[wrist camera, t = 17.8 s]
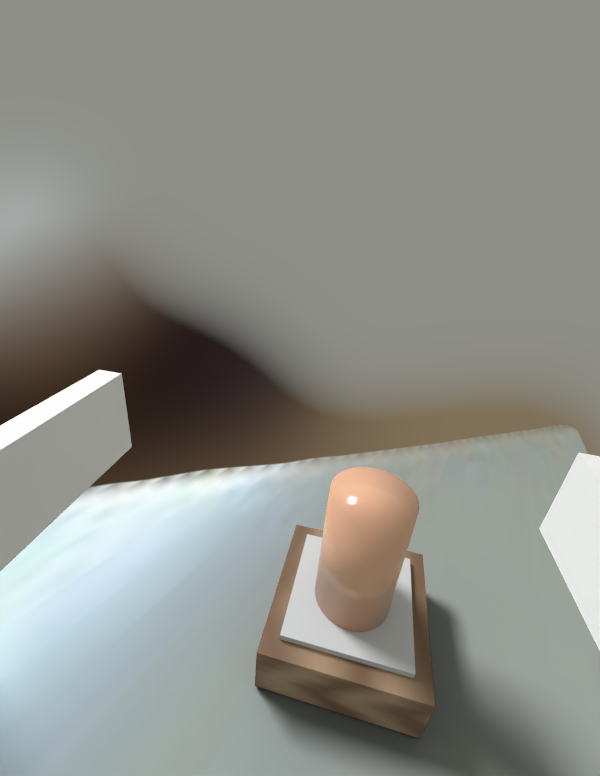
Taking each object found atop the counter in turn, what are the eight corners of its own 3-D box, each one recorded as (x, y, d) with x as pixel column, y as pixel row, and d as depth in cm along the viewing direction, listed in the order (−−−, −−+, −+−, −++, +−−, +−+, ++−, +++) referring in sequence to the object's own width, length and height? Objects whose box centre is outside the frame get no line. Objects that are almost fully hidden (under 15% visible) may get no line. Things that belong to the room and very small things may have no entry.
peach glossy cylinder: (307, 619, 32) (323, 517, 27) (321, 553, 38) (336, 460, 33) (389, 642, 31) (422, 540, 26) (390, 571, 37) (416, 476, 32)
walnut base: (254, 686, 32) (256, 648, 30) (293, 555, 45) (297, 520, 42) (420, 738, 30) (437, 702, 28) (412, 585, 42) (423, 550, 40)
